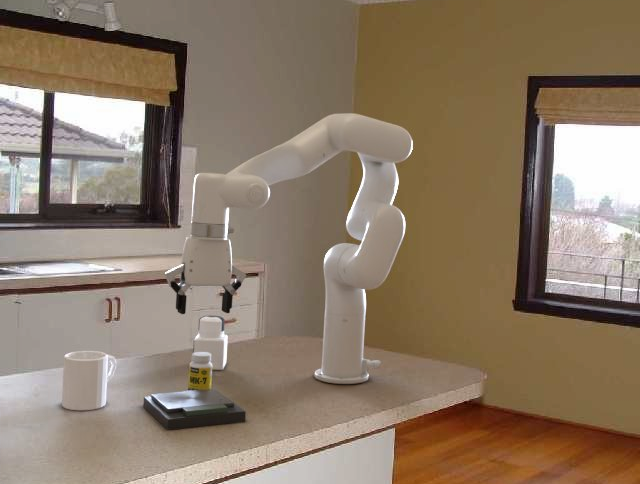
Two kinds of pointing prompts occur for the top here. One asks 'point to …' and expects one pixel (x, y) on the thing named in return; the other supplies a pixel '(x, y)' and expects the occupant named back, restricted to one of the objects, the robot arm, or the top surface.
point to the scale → (195, 415)
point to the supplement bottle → (200, 371)
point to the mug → (86, 379)
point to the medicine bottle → (212, 340)
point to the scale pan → (190, 399)
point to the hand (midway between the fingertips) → (203, 312)
